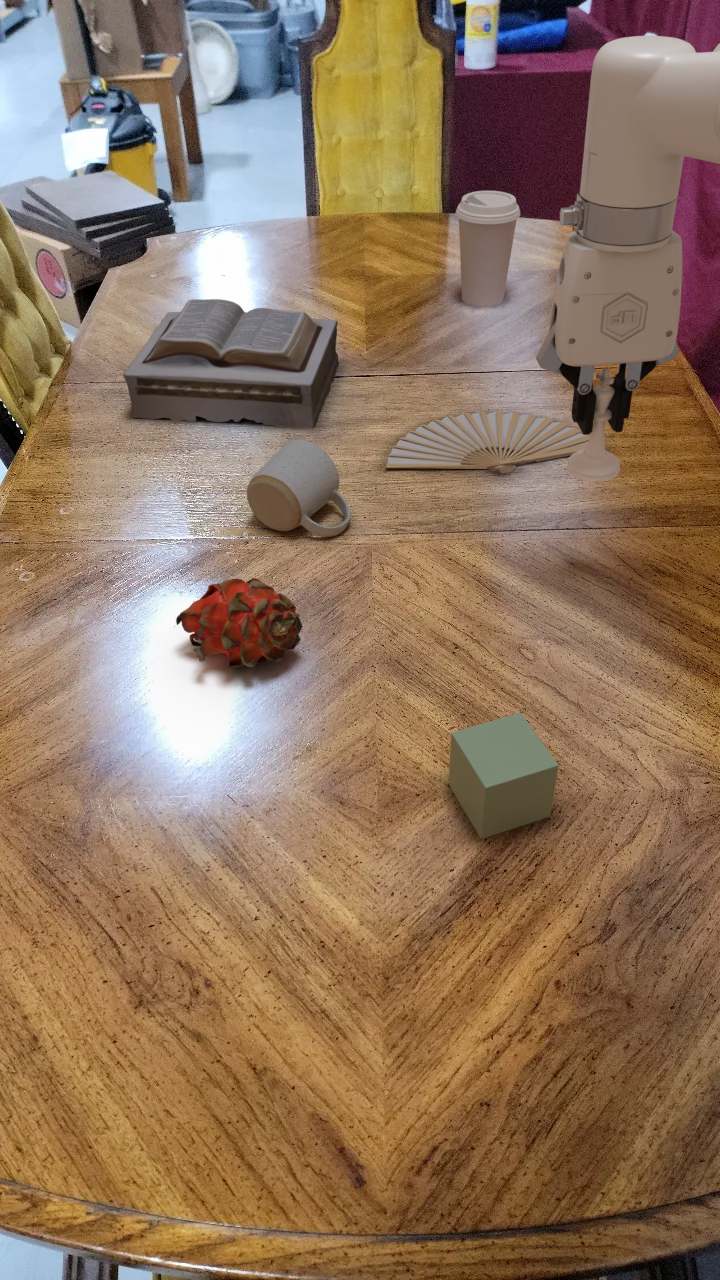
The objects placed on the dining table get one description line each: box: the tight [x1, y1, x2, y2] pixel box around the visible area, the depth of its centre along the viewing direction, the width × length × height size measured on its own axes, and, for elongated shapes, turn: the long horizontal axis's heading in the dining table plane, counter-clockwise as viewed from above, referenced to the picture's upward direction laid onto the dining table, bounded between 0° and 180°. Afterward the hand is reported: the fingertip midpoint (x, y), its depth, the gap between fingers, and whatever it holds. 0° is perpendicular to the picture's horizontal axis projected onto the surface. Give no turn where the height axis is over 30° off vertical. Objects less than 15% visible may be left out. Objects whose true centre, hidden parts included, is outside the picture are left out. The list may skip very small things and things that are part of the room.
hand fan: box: [385, 410, 591, 475], centre depth 120 cm, size 26×1×15 cm
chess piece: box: [566, 367, 621, 483], centre depth 91 cm, size 5×5×10 cm
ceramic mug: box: [246, 438, 352, 538], centre depth 107 cm, size 11×8×8 cm
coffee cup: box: [455, 190, 521, 308], centre depth 150 cm, size 10×10×15 cm
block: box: [448, 712, 559, 840], centre depth 76 cm, size 6×6×6 cm
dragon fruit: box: [173, 577, 304, 670], centre depth 90 cm, size 8×8×12 cm
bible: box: [123, 298, 340, 430], centre depth 130 cm, size 23×27×10 cm
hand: (598, 425), depth 91 cm, fingers closed on chess piece
